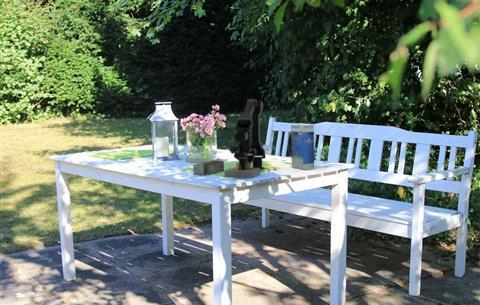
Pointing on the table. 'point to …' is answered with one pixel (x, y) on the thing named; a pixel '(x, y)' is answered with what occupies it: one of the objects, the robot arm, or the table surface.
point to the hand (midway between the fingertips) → (245, 169)
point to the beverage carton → (208, 168)
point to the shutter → (235, 167)
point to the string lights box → (302, 146)
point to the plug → (247, 166)
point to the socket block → (242, 173)
